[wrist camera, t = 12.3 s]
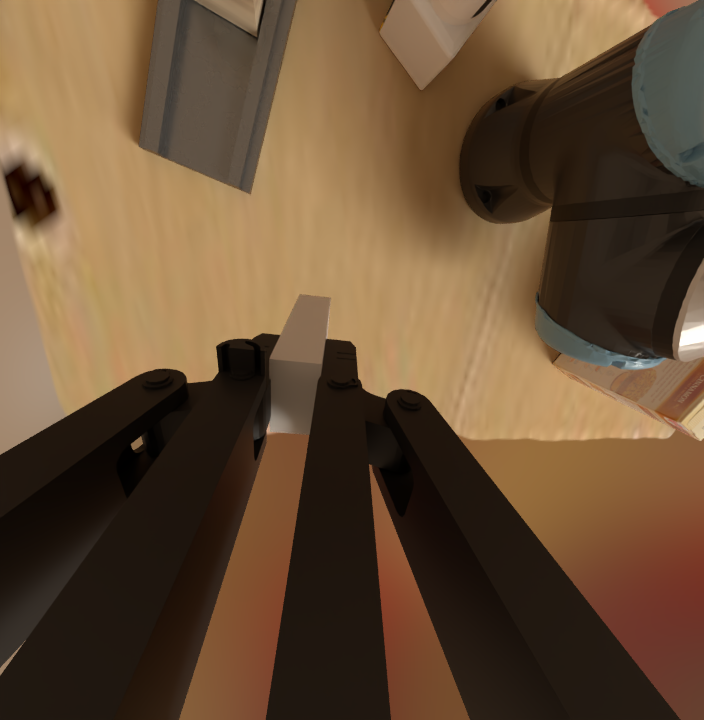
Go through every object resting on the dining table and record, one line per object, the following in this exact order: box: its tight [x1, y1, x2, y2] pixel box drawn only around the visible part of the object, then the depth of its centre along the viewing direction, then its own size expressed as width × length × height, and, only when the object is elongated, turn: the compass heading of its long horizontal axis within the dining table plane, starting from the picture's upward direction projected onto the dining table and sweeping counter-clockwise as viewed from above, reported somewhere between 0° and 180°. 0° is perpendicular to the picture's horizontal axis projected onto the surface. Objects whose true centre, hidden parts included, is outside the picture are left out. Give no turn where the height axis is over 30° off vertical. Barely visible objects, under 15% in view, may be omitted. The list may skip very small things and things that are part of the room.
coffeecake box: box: [553, 353, 704, 441], centre depth 46 cm, size 15×7×20 cm, turn 146°
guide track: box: [139, 0, 297, 194], centre depth 29 cm, size 22×11×2 cm, turn 159°
